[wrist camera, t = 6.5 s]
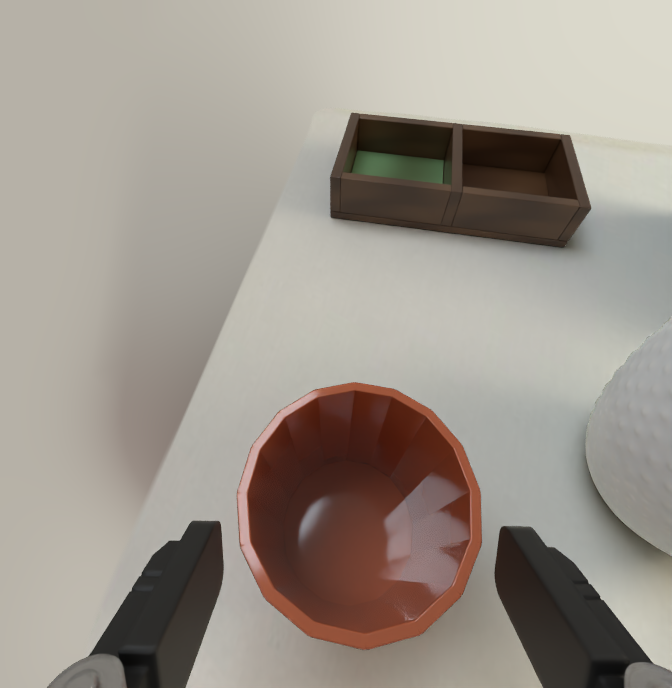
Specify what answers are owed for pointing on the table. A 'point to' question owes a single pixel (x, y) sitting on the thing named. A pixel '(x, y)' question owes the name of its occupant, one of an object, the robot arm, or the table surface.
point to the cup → (359, 515)
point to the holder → (459, 179)
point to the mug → (637, 441)
